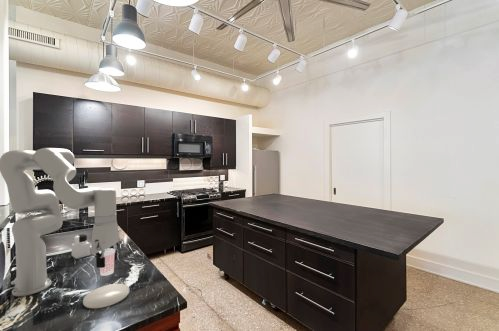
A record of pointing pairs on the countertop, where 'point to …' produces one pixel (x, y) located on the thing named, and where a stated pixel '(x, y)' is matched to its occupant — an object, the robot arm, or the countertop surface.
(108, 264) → the beverage cup
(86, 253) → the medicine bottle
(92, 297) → the dish
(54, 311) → the countertop surface
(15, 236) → the robot arm
